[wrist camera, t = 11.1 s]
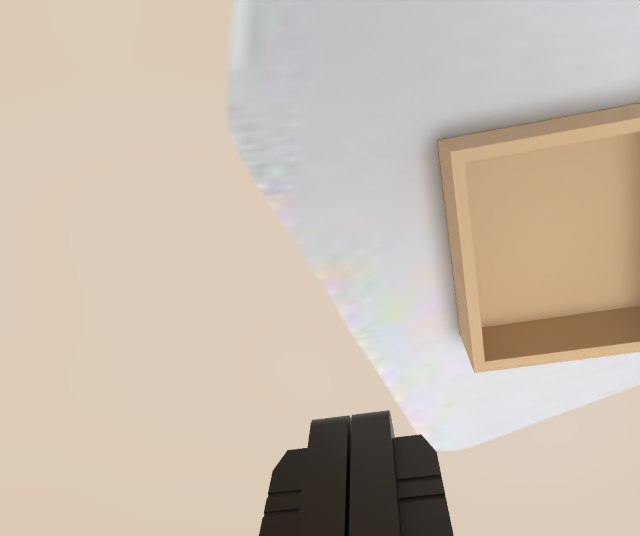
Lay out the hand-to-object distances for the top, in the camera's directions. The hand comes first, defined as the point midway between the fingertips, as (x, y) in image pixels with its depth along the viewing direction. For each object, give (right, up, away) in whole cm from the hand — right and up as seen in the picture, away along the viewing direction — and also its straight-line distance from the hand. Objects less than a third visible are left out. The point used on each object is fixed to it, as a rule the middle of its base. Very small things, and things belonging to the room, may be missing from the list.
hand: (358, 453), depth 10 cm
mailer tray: (+19, +7, +30) cm, 36 cm away
